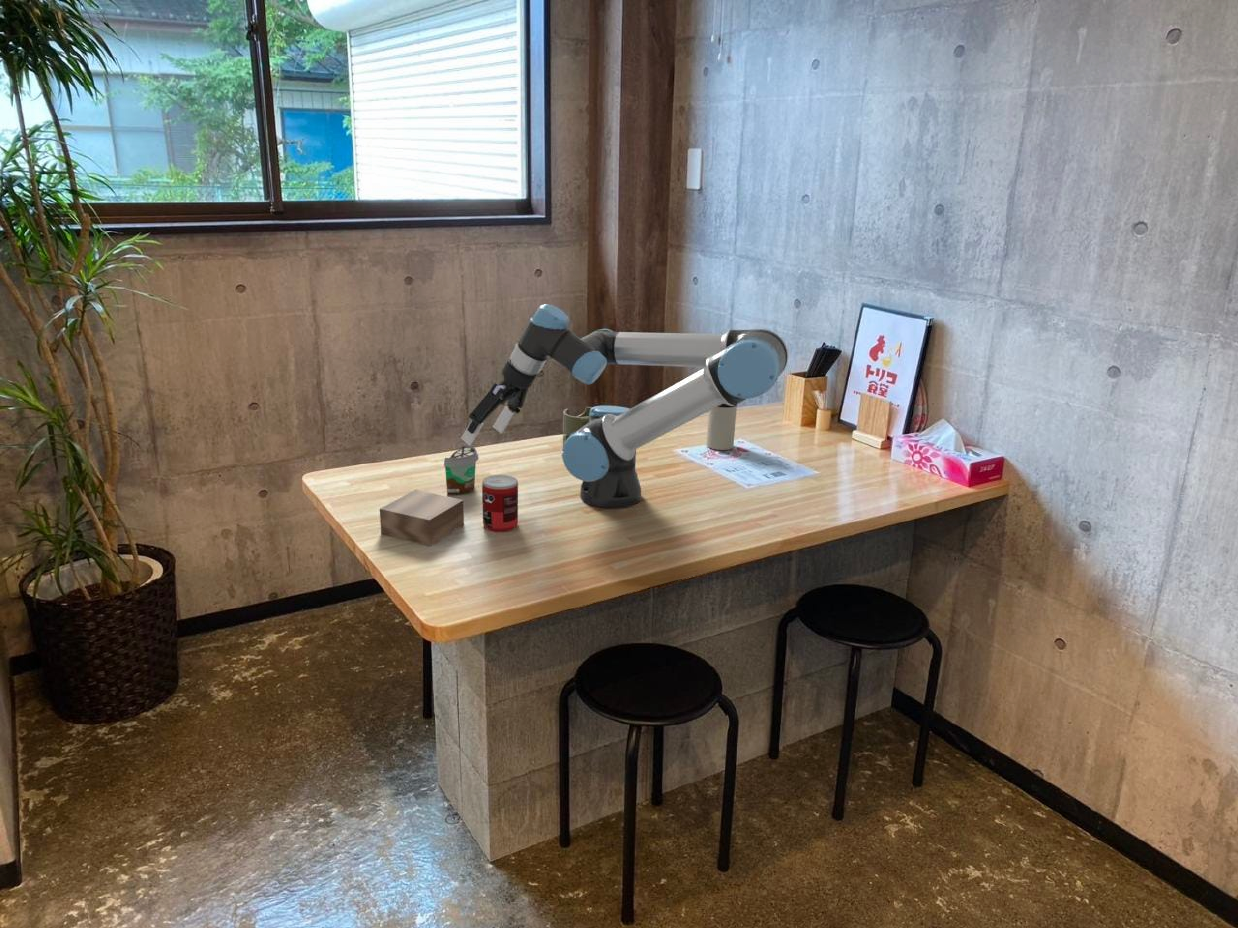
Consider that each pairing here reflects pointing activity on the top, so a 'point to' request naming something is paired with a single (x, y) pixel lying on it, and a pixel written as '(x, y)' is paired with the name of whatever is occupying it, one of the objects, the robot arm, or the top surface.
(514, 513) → the canned food
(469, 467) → the food container
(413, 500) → the walnut stand
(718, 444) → the travel mug
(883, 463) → the top surface
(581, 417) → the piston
